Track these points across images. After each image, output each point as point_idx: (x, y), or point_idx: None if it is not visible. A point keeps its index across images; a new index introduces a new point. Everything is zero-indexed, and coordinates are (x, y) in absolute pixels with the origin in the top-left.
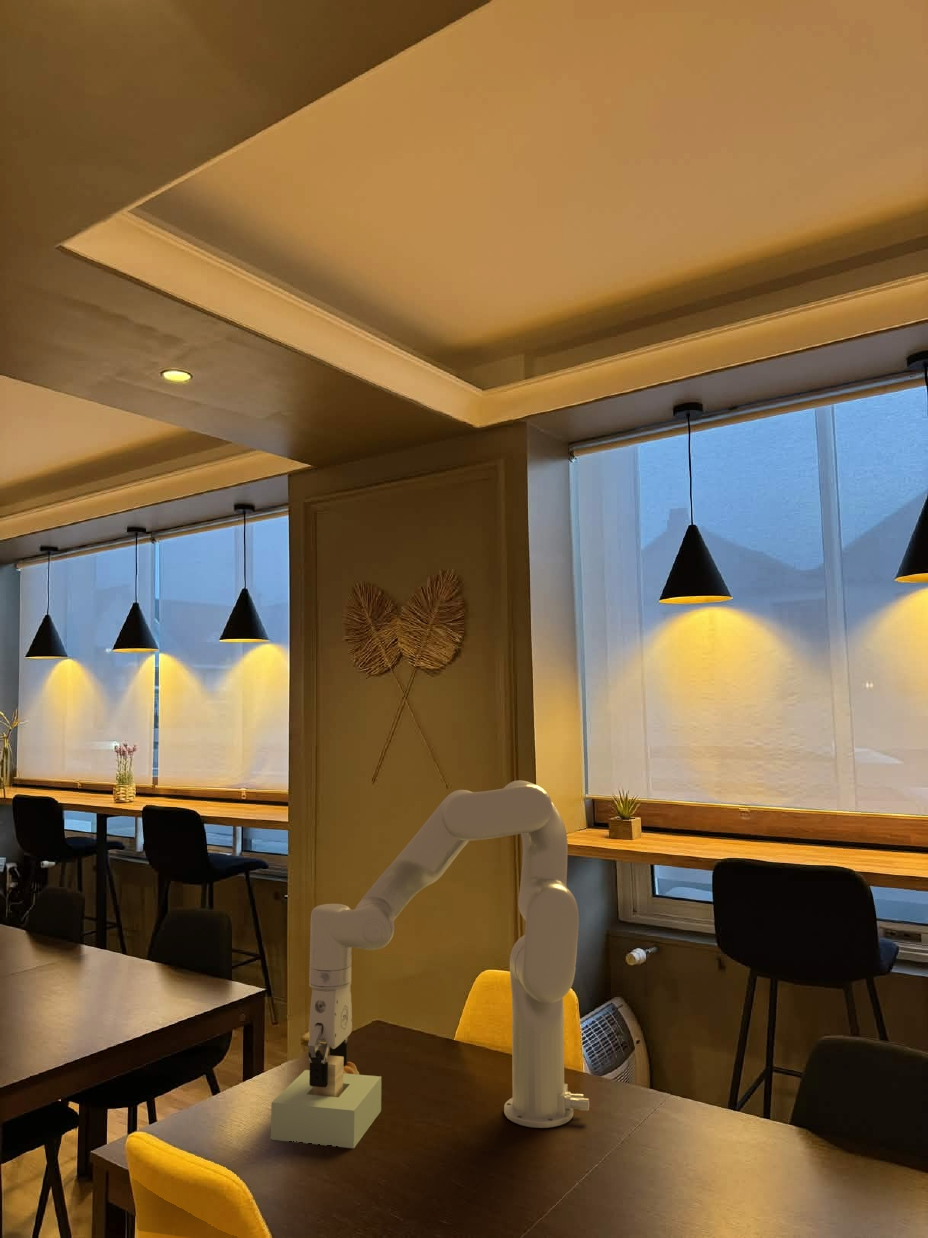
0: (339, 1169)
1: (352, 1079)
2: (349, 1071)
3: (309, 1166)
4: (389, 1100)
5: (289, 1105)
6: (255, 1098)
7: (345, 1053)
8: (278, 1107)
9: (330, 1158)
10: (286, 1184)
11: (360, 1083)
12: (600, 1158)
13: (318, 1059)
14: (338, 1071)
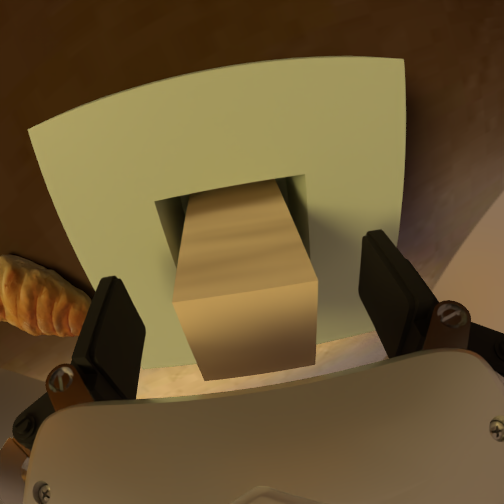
0: (445, 61)
1: (110, 217)
2: (11, 289)
3: (446, 133)
4: (18, 131)
5: None
6: (187, 377)
7: (103, 319)
8: None
9: (408, 98)
10: (498, 149)
11: (126, 164)
12: None
13: (492, 331)
14: (253, 255)
